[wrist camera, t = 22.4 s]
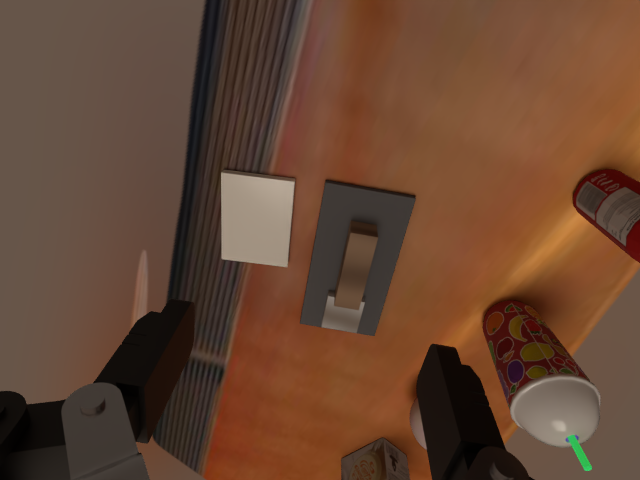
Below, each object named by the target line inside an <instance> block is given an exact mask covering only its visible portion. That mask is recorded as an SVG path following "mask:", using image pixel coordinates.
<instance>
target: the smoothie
mask: <svg viewBox="0 0 640 480" xmlns="http://www.w3.org/2000/svg"><path fill="white" fill-rule="evenodd" d="M483 332H484V335H485V338H486V341H487V344H488V347H489V350H490V353H491V356H492V359H493V362H494V365H495V368H496V371H497V374H498V377H499V379H500V382H501V385H502V388H503V391H504V394H505V397H506V400H507V403H508V406H509V409H510V412H511V417H512V419H513V420H514V422H515V423H516V424H517V425H518V426H519V427H521V428H523V429H524V430H525V431H526V432H528V433H529V434H530V435H531V436H533V437H535V438H536V439H538V440H539V441H541V442H543V443H545V444H548V445H551V446H555V447H573V449H574V451H575V453H576V455H577V456H578V458H579V461H580V462H581V464H582V466H583V468H584V470H586V471H588V470H591V469H592V467H591V465H590V463H589V461H588V459H587V458H586V456H585V454H584V452H583V450H582V448H581V446H580V444H582V443H584V442H585V441H587V440H588V439H589V438H590V437H591V436H592V435H593V434H594V433H595V431H596V428H597V426H598V424H599V420H600V408H599V407H600V405H601V402H600V401H601V399H600V393H599V391H598V390H597V388H596V386H595V385H594V384H593V383H591V382H590V380H589V379H588V378H587V376H586V375H585V374H584V372H583V371H582V370H581V368H580V367H579V366H578V365H577V364H576V362H575V361H574V359H573V358H572V357H571V356H570V354H569V353H568V352H567V350H566V349H565V348H564V347H563V345H562V344H561V343H560V341H559V340H558V339H557V338H556V336H555V335H554V334H553V332H552V331H551V330H550V329H549V327H548V326H547V325H546V323H545V322H544V321H543V319H542V318H541V317H540V316H539V314H538V313H537V312H536V310H535V309H534V308H532V307H530V306H529V305H526V304H524V303H522V302H519V301H515V300H507V301H503V302H500V303H498V304H496V305H494V306H493V307H492V308H490V309H489V310H488V312H487V313H486V315H485V320H484V323H483Z"/></svg>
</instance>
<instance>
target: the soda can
mask: <svg viewBox="0 0 640 480" xmlns="http://www.w3.org/2000/svg"><path fill="white" fill-rule="evenodd" d="M573 205H574V207H575V208H576V210H577V212H578V213H579V214H580V215H582V216H583V217H584V218H585V219H586V220H588V221H589V222H590V223H591V224H592V225H594V226H595V227H596V228H597V229H598V230H600V231H601V232H602V233H603V234H604V235H606V236H607V237H608V238H609V239H610V240H612V241H613V242H614V243H615V244H616V245H618V246H619V247H620V248H621V249H622V250H624V251H625V252H626V253H627V254H628V255H630V256H631V257H632V258H633V259H635V260H636V261H638V262H639V263H640V182H638V181H636V180H634V179H633V178H631V177H629V176H627V175H625V174H624V173H622V172H620V171H617V170H613V169H605V170H600V171H597V172H595V173H592V174H591V175H589V176H588V177H586V178H585V179H584V180H583V181H582V182H581V183H580V184H579V186H578V188H577V189H576V191H575V193H574V195H573Z"/></svg>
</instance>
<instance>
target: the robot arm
mask: <svg viewBox="0 0 640 480" xmlns="http://www.w3.org/2000/svg"><path fill="white" fill-rule="evenodd" d="M194 322H195V305H194V303H193V302H189V301H183V300H177V299H170V300H169V301H168V303H167V304H166V306H165V307H164V309H163V310H162V312H161V313H158V312H153V311H151V312H149V313H148V314H146V315H145V316H143V317H142V318H140V319H139V320H137V322H136V323H135V325H134V326H133V328H132V329H131V330H130V332H129V335H127V336H126V337H125V339H124V340H123V342H122V345H120V346H119V347H118V349H117V350H116V352H115V353H114V355H113V356H112V357H111V359H110V360H109V362H108V363H107V364H106V366H105V367H104V369H103V370H102V372H101V373H100V375H99V376H98V377H97V379H96V380H95V381H94V382H93V384H89V385H86V386H83V387H81V388H79V389H78V390H76V391H74V392H73V393H72V394H71V395H70V396H69V397H68V398H67V399H65V400H61V401H55V402H45V403H38V404H37V403H36V404H26V401H25V398H24V397H23V396H22V395H20V394H19V393H16V392H12V391H1V392H0V480H150V479H149V476H148V472H147V469H146V465H145V462H144V459H143V456H142V454H141V453H139V452H138V449H137V445H136V442H141V443H148V442H149V440H150V438H151V436H152V434H153V432H154V430H155V428H156V425H157V423H158V421H159V419H160V417H161V415H162V413H163V411H164V409H165V406H166V404H167V402H168V400H169V398H170V396H171V394H172V392H173V390H174V388H175V385H176V383H177V381H178V379H179V377H180V375H181V373H182V371H183V369H184V366H185V364H186V362H187V360H188V358H189V356H190V353H191V350H192V347H193V342H194ZM416 389H417V398H418V404H419V409H420V415H421V420H422V426H423V431H424V437H425V442H426V447H427V453H428V458H429V464H430V469H431V475H432V480H534V479H532V478H531V477H529V475H528V473H527V471H526V469H525V468H524V466H523V465H522V464H521V462H520V461H519V460H518V459H517V458H516V457H515V456H513V455H512V454H511V453H509V452H507V451H506V449H505V446H504V443H503V440H502V438H501V435H500V432H499V429H498V427H497V424H496V421H495V419H494V416H493V413H492V410H491V408H490V407H489V402H488V399H487V397H486V396H485V391H484V389H483V386H482V383H481V380H480V378H479V377H478V376H477V375H476V373H475V372H474V371H473V370H472V368H471V367H470V366H468V365H462V364H461V361H460V358H459V355H458V352H457V350H456V348H454V347H449V346H443V345H438V344H431V346H430V347H429V350H428V352H427V355H426V357H425V360H424V362H423V365H422V367H421V370H420V373H419V375H418V379H417V388H416Z"/></svg>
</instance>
